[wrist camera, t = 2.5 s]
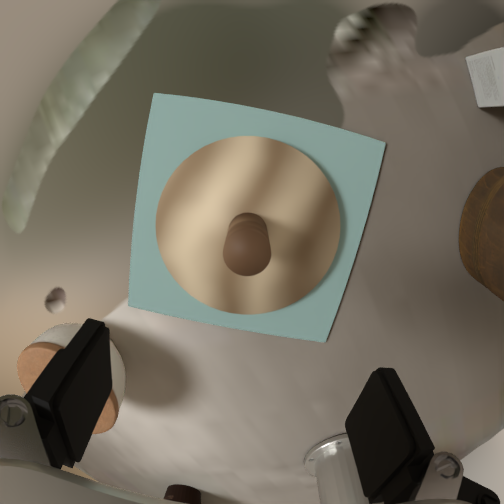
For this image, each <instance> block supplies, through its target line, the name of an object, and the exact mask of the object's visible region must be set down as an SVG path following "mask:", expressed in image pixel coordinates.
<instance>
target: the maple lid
mask: <svg viewBox="0 0 504 504" xmlns="http://www.w3.org/2000/svg"><path fill="white" fill-rule="evenodd" d="M155 227H156V239H157V243H158V248H159V251H160V254H161V257H162V259H163V261H164V263H165V265H166V267H167V269H168V271H169V272H170V274H171V275H172V277H173V278H174V280H175V281H176V282H177V283H178V284H179V285H180V286H181V287H182V288H183V289H184V290H185V291H186V292H187V293H188V294H190V295H191V296H192V297H194V298H195V299H197V300H198V301H200V302H202V303H204V304H206V305H207V306H209V307H212V308H215V309H217V310H220V311H224V312H228V313H234V314H243V315H254V314H262V313H268V312H272V311H276V310H279V309H281V308H284V307H287V306H289V305H291V304H293V303H295V302H296V301H298V300H299V299H301V298H302V297H304V296H305V295H307V294H308V293H309V292H310V291H311V290H312V289H313V288H314V287H315V286H316V285H317V284H318V283H319V282H320V281H321V280H322V278H323V277H324V275H325V274H326V272H327V271H328V269H329V267H330V265H331V264H332V262H333V259H334V257H335V254H336V251H337V248H338V243H339V239H340V227H341V226H340V213H339V208H338V203H337V200H336V197H335V194H334V191H333V189H332V187H331V185H330V183H329V181H328V180H327V178H326V177H325V175H324V174H323V172H322V171H321V170H320V169H319V168H318V167H317V165H316V164H315V163H314V162H313V161H312V160H310V159H309V158H308V157H307V156H306V155H304V154H303V153H302V152H300V151H298V150H297V149H295V148H294V147H292V146H290V145H287V144H285V143H283V142H280V141H277V140H274V139H270V138H266V137H259V136H237V137H230V138H226V139H222V140H218V141H215V142H213V143H211V144H208V145H206V146H204V147H202V148H201V149H199V150H197V151H196V152H194V153H193V154H191V155H190V156H189V157H188V158H186V159H185V160H184V161H183V162H182V163H181V164H180V165H179V166H178V167H177V168H176V170H175V171H174V172H173V174H172V175H171V176H170V178H169V179H168V181H167V183H166V185H165V187H164V189H163V191H162V194H161V196H160V199H159V202H158V207H157V212H156V224H155Z"/></svg>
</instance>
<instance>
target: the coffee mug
mask: <svg viewBox="0 0 504 504" xmlns="http://www.w3.org/2000/svg"><path fill="white" fill-rule="evenodd" d="M164 499H165V500H170V501H175V502H181V503H186V504H201V494H200V492H199V491H198V490H197V489H195V488H192V487H190V486H186V485H171V486H169V487H168V488H167V491H166V494H165V497H164Z"/></svg>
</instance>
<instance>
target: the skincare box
mask: <svg viewBox="0 0 504 504" xmlns="http://www.w3.org/2000/svg"><path fill="white" fill-rule="evenodd" d="M466 62H467V66H468V69H469V73H470V76H471V80H472V84H473V88H474V92H475V97H476V101H477V105H478V107H479V108H481V107H504V47H502V48H497V49H493V50H490V51H486V52H482V53H478V54H475V55H472V56H468V57H466Z"/></svg>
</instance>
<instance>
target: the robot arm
mask: <svg viewBox="0 0 504 504" xmlns="http://www.w3.org/2000/svg"><path fill="white" fill-rule="evenodd" d="M111 390H112V371H111V356H110V335H109V328H107V327H105V324H104V322H101V321H97V320H94V319H90V318H88V319H87V320H86V321H85V323H84V324H83V325H82V326H81V328H80V329H79V330H78V332H77V333H76V334H75V336H74V337H73V338H72V340H71V341H70V342H69V344H68V345H67V346H66V348H65V349H63V348H61V349H59V350H58V351H57V352H56V354H55V355H54V356H53V358H52V359H51V360H50V362H49V363H48V364H47V366H46V367H45V368H44V370H43V371H42V373H41V374H40V375H39V377H38V378H37V379H36V381H35V382H34V384H33V385H32V387H31V388H30V389H29V391H28V392H27V394H26V395H25V397H24V398H23V397H21V396H18V395H5V396H1V397H0V504H186V503H181V502H175V501H170V500H165V499H160V498H156V497H151V496H147V495H143V494H139V493H135V492H131V491H127V490H124V489H120V488H116V487H113V486H109V485H106V484H103V483H100V482H96V481H93V480H90V479H87V478H84V477H81V476H78V475H75V474H72V473H69V472H66V471H63V470H60V469H61V467H62V465H65V466H68V467H70V468H73V466H74V463H75V461H76V462H80V461H81V459H82V457H83V454H84V452H85V449H86V447H87V445H88V442H89V440H90V438H91V435H92V433H93V431H94V429H95V426H96V424H97V422H98V420H99V417H100V415H101V413H102V411H103V408H104V406H105V404H106V402H107V400H108V398H109V395H110V393H111ZM345 428H346V431H347V433H346V434H342V435H338V436H335V437H332V438H329V439H327V440H325V441H323V442H321V443H319V444H318V445H316V446H315V447H313V448H312V449H311V450H310V451H309V452H308V453H307V455H306V456H305V459H304V466H305V470H306V471H307V472H308V473H309V474H310V475H312V476H315V477H316V479H317V485H318V491H319V498H320V504H500V500H499V498H498V496H497V495H496V494H495V493H494V492H493V491H492V490H490V489H488V488H486V487H484V486H482V485H480V484H478V483H475V482H474V481H472V480H470V479H468V478H466V477H464V476H463V470H464V469H463V466H462V463H461V461H460V460H459V459H458V458H457V457H456V456H455V455H453V454H451V453H448V452H439V453H436V454H435V455H434V453H433V450H434V449H435V447H434V445H433V443H432V441H431V439H430V437H429V435H428V433H427V431H426V429H425V427H424V425H423V423H422V421H421V419H420V417H419V415H418V413H417V411H416V409H415V407H414V405H413V403H412V401H411V399H410V397H409V395H408V394H407V392H406V390H405V388H404V386H403V384H402V382H401V380H400V379H399V377H398V375H397V373H396V371H395V370H394V369H393V368H381V367H380V368H378V369H377V370H376V371H373V372H372V374H371V375H370V377H369V379H368V381H367V383H366V385H365V387H364V389H363V390H362V392H361V394H360V396H359V398H358V400H357V401H356V403H355V405H354V407H353V408H352V410H351V412H350V413H349V415H348V417H347V419H346V422H345Z"/></svg>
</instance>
